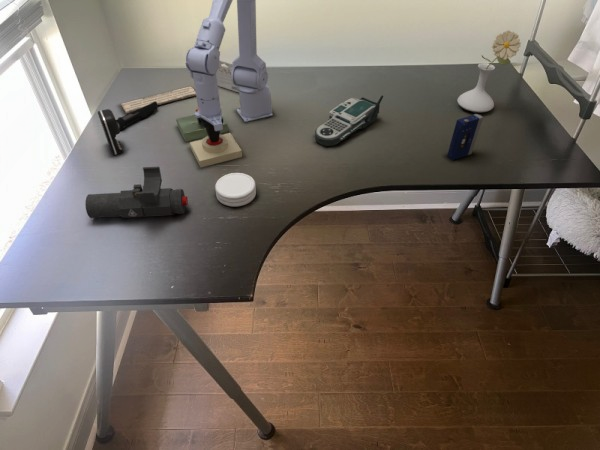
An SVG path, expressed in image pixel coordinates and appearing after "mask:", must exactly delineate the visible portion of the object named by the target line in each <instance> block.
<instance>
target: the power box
mask: <svg viewBox="0 0 600 450" xmlns="http://www.w3.org/2000/svg"><path fill="white" fill-rule="evenodd" d="M219 138H221V139H222V143H221V144H219V145H215V146H211V145H208V143H207V140H208V139H209V137H208V136H206V137H205V138H201V139H197V140H193V141H189V146H190V150H191V151H192V154H193V155H194V157H195V159H196V161H197V163H198V166H199V167H200V168H206V167H209V166H212V165H216V164H220V163H224V162H228V161H232V160H235V159H236V160H237V159H239V158H243V151H242V149H241V147H240V146H239V144H238V142H237V141H236V140H235V138H234V136H233V135H232V134H231V133H230V132H226V133H222V134H220V135H219Z"/></svg>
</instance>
